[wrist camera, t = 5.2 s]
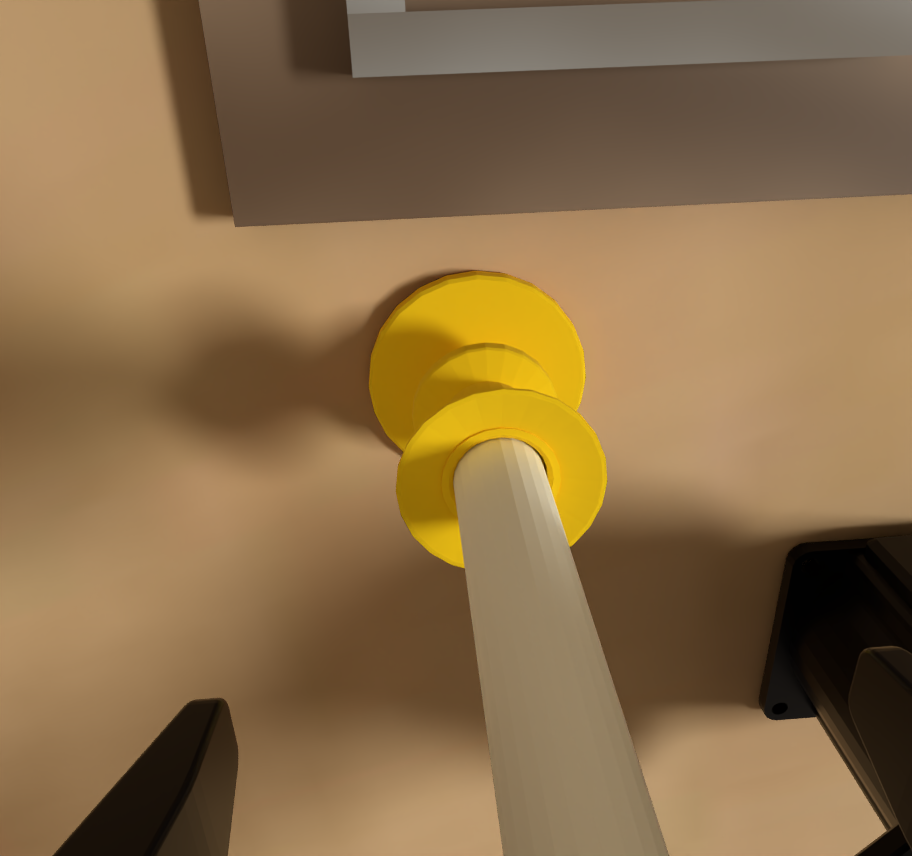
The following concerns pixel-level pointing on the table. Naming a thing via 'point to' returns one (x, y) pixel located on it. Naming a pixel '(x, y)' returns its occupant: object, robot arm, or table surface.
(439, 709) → the table surface
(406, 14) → the socket board
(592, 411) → the table surface
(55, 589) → the table surface
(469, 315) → the candle
